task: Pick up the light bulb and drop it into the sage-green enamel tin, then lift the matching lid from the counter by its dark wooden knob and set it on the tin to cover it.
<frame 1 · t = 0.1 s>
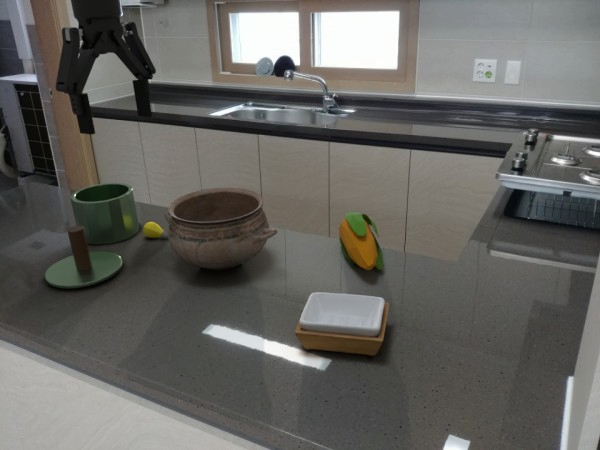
hand: (118, 124, 94), 27 cm above the worktop, tool pointing down, fingers open, 13 cm apart
soap dish: (343, 338, 80), on the worktop
cooking pot: (222, 263, 104), on the worktop
corn: (361, 259, 103), on the worktop
light bulb: (157, 238, 116), on the worktop
tin lid: (84, 270, 102), point 1 cm above the worktop
tin: (110, 232, 119), on the worktop
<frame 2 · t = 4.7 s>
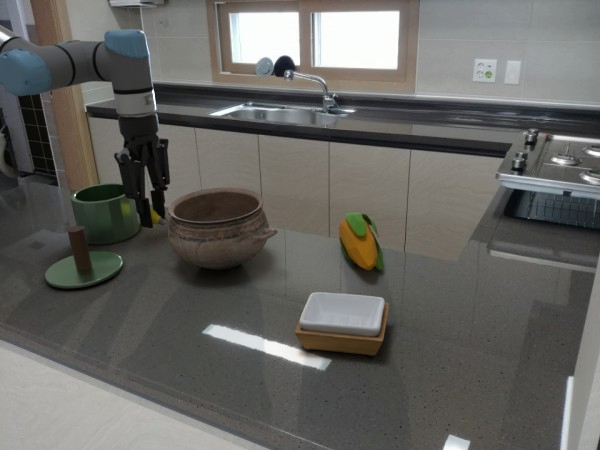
hand: (153, 222, 114), 3 cm above the worktop, tool pointing down, fingers closed on light bulb, 3 cm apart
light bulb: (154, 225, 115), point 3 cm above the worktop, touching gripper
everything else where it was.
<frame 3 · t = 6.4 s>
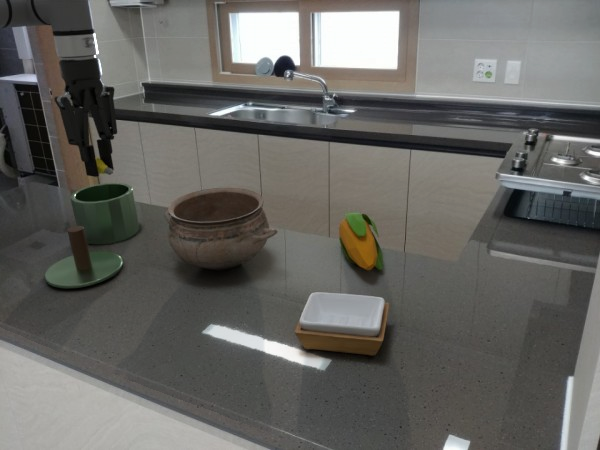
hand: (100, 172, 114), 14 cm above the worktop, tool pointing down, fingers closed on light bulb, 3 cm apart
light bulb: (101, 174, 114), point 13 cm above the worktop, touching gripper
everything else where it was.
when the fingers open (11 cm above the worktop, at t = 8.0 s): light bulb drops 8 cm, resting on tin.
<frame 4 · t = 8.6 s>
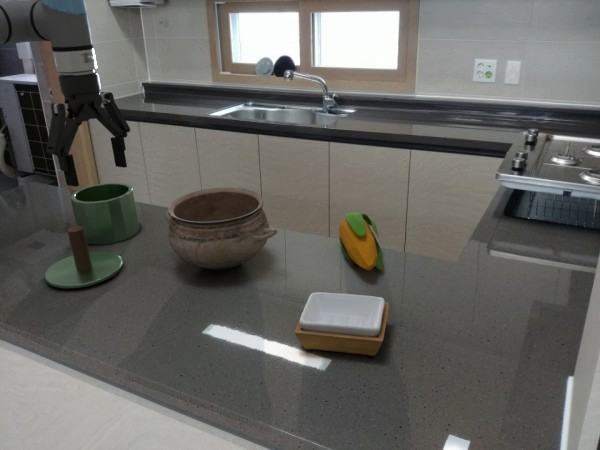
hand: (98, 175, 114), 13 cm above the worktop, tool pointing down, fingers open, 13 cm apart
light bulb: (114, 222, 120), point 2 cm above the worktop, touching tin
everything else where it was.
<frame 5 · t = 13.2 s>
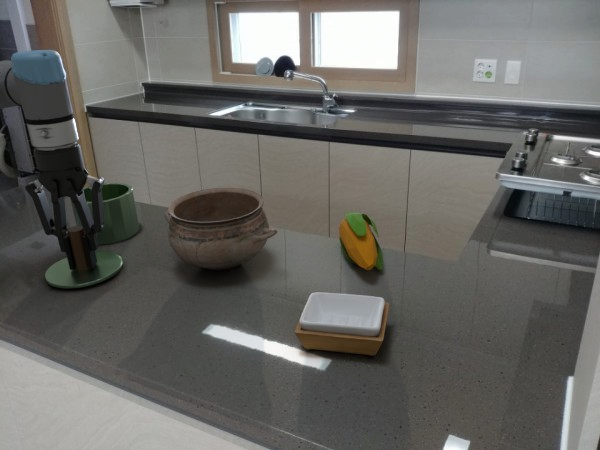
hand: (83, 265, 102), 2 cm above the worktop, tool pointing down, fingers closed on tin lid, 3 cm apart
tin lid: (84, 270, 102), point 1 cm above the worktop, touching gripper
everything else where it was.
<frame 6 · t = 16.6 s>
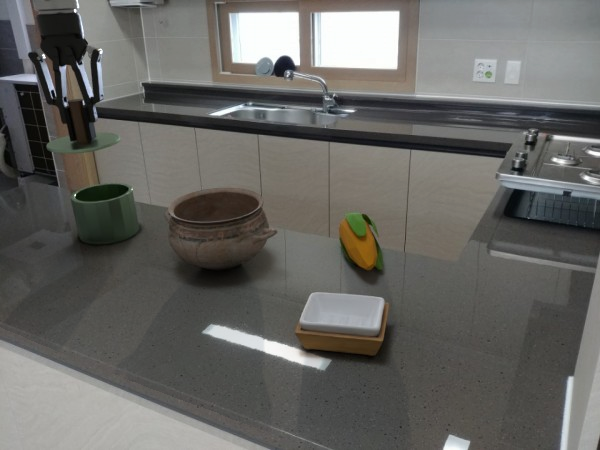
hand: (83, 139, 106), 22 cm above the worktop, tool pointing down, fingers closed on tin lid, 3 cm apart
tin lid: (84, 143, 107), point 21 cm above the worktop, touching gripper
everything else where it was.
when the fingers open (10 cm above the worktop, at t = 20.0 s): tin lid stays where it is, resting on tin.
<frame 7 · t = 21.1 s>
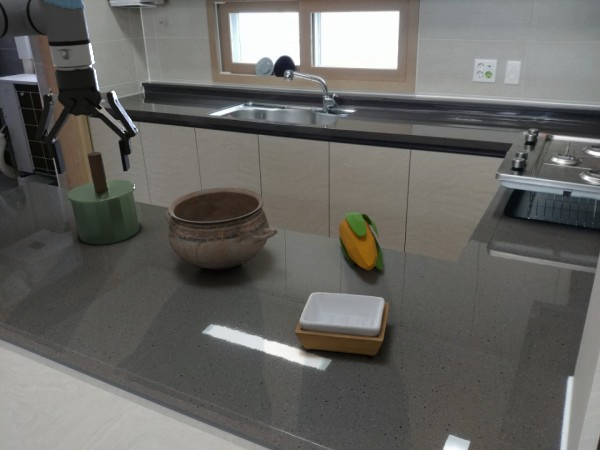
hand: (94, 171, 114), 14 cm above the worktop, tool pointing down, fingers open, 13 cm apart
tin lid: (102, 192, 116), point 9 cm above the worktop, touching tin
everything else where it was.
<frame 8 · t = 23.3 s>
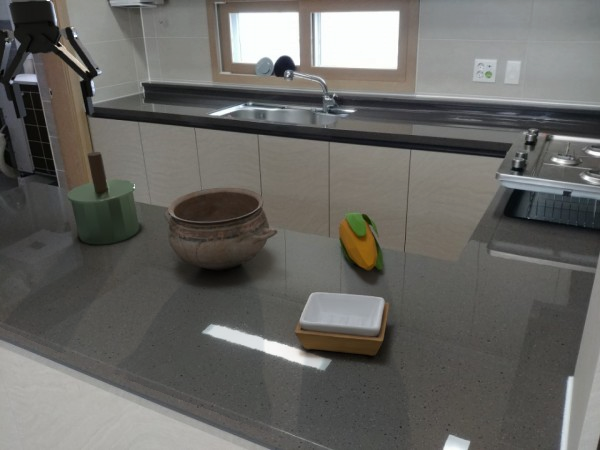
hand: (56, 115, 107), 27 cm above the worktop, tool pointing down, fingers open, 13 cm apart
nothing on the worktop moved.
at the end: light bulb inside the target area in the tin (1.6 cm from its centre), point 1.9 cm above the tin's base; tin lid 0.1 cm off-centre on the tin, point 9.5 cm above the tin's base; tin lid tilted 0° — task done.
